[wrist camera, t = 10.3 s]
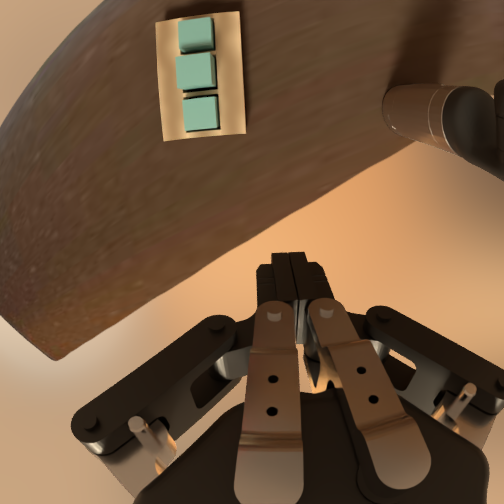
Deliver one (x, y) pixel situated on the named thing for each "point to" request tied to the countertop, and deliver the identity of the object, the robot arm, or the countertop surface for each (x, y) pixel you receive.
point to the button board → (227, 91)
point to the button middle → (196, 71)
